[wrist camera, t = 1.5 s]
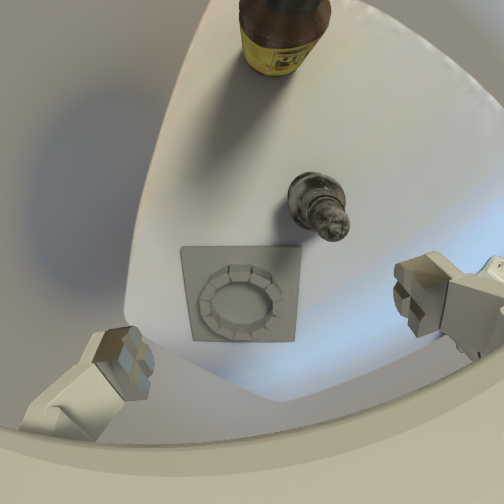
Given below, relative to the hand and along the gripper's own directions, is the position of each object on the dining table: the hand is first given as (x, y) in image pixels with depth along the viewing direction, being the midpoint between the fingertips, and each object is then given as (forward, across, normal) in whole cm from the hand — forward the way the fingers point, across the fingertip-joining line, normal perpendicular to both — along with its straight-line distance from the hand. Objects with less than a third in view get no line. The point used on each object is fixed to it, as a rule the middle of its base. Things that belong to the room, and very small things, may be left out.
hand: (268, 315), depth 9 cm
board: (+24, -4, -16) cm, 29 cm away
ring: (+24, -4, -16) cm, 29 cm away
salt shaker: (+24, +7, -5) cm, 26 cm away
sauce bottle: (+25, +6, +12) cm, 29 cm away
